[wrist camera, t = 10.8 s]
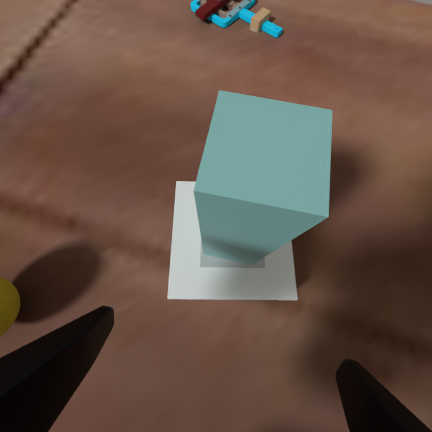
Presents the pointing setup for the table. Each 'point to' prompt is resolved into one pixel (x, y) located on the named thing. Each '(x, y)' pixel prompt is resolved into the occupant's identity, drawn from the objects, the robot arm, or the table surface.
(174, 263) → the plinth
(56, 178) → the table surface
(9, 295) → the lemon
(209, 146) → the pillar
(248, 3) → the gear mechanism
